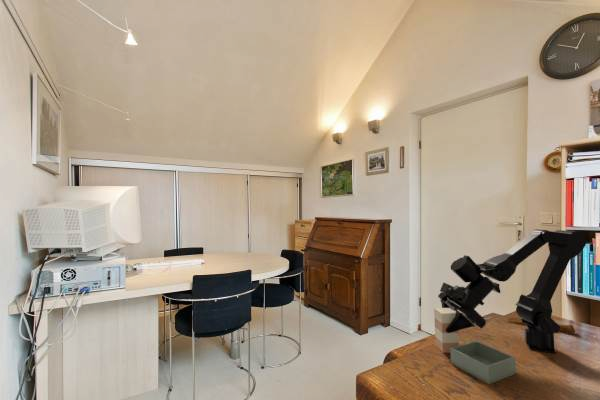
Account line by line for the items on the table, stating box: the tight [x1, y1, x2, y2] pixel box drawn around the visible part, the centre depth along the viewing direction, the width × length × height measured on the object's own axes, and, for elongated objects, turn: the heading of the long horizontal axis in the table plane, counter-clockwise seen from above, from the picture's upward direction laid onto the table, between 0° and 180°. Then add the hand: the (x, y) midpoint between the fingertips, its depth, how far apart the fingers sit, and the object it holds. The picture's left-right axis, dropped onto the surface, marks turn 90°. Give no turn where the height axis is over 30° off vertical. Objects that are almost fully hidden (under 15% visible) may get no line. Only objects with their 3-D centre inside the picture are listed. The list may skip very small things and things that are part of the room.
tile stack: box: [433, 307, 460, 354], centre depth 91 cm, size 5×5×12 cm
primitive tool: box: [506, 316, 576, 336], centre depth 107 cm, size 19×6×4 cm, turn 47°
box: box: [449, 340, 517, 385], centre depth 80 cm, size 11×11×4 cm
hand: (441, 327), depth 91 cm, fingers open, 6 cm apart
